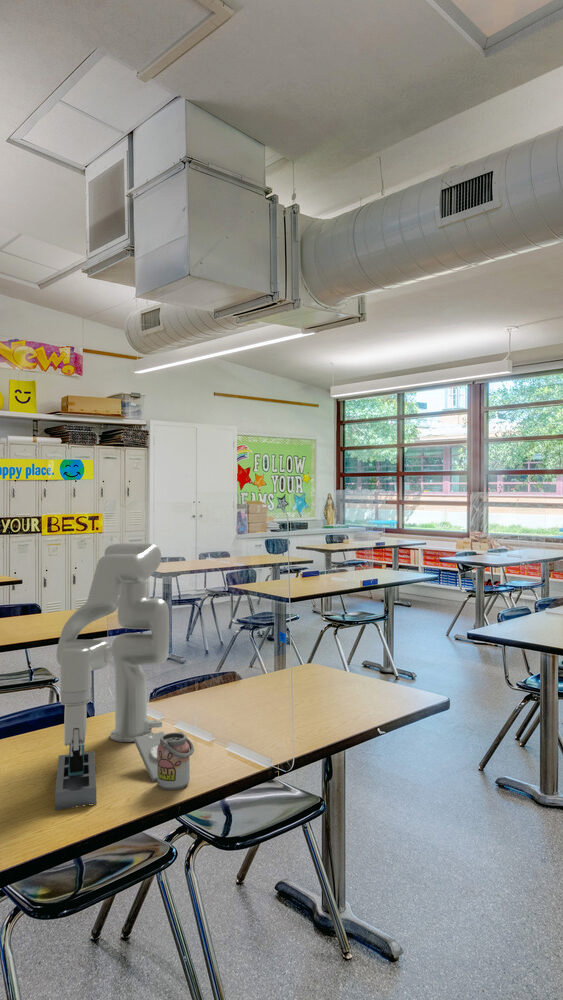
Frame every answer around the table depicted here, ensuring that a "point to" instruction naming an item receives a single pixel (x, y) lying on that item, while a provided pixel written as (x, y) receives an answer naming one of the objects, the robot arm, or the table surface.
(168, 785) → the beverage can
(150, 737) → the light switch
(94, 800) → the hole rail
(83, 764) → the square peg
